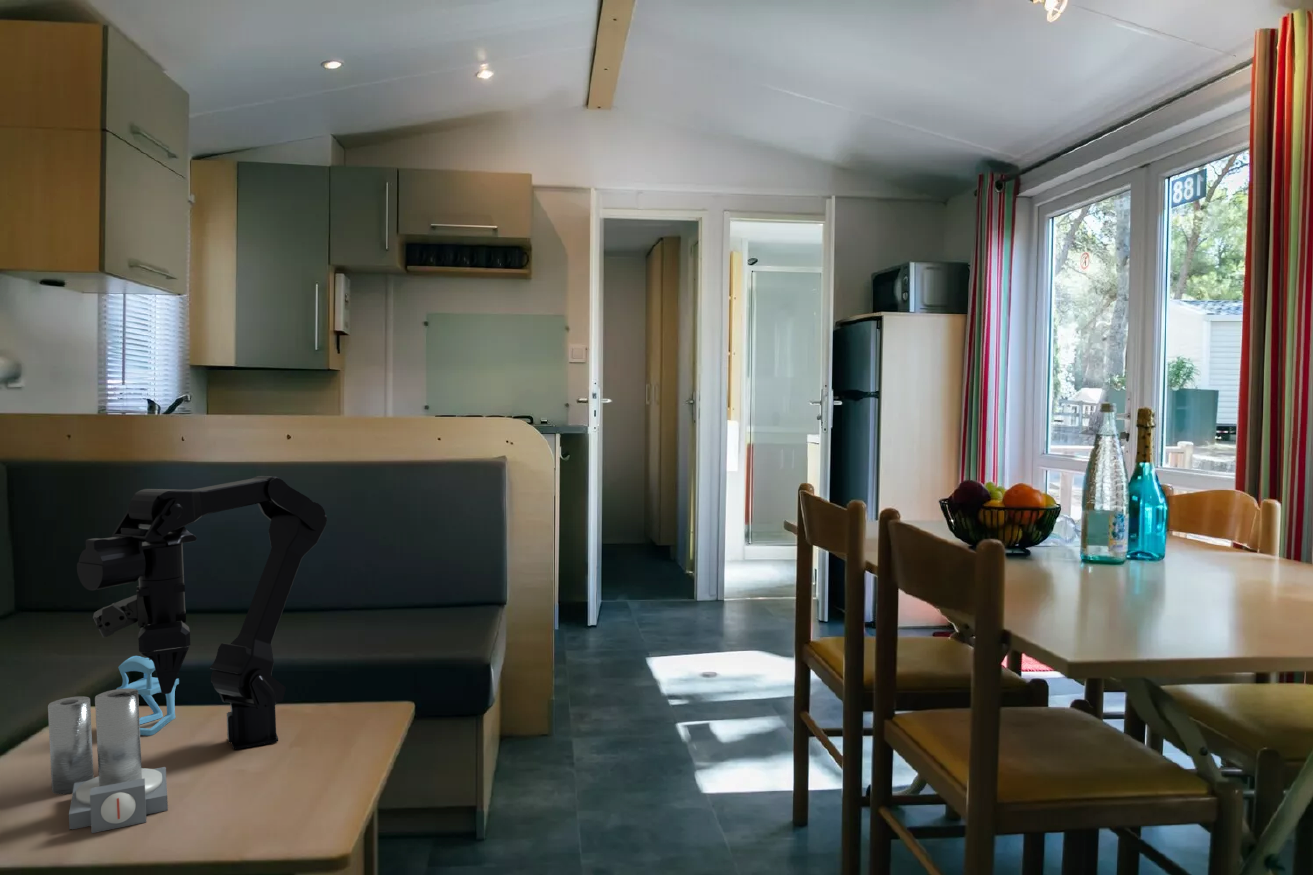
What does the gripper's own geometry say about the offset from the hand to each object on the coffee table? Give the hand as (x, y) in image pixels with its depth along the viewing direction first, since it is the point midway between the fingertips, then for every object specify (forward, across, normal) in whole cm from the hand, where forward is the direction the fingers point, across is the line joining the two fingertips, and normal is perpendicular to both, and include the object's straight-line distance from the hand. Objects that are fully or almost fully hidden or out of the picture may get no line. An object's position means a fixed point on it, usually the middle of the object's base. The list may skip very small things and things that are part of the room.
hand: (165, 684), depth 135 cm
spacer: (+13, -2, -12) cm, 18 cm away
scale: (+13, +9, -6) cm, 17 cm away
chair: (+13, -24, -2) cm, 28 cm away
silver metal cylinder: (+10, +8, -6) cm, 14 cm away
